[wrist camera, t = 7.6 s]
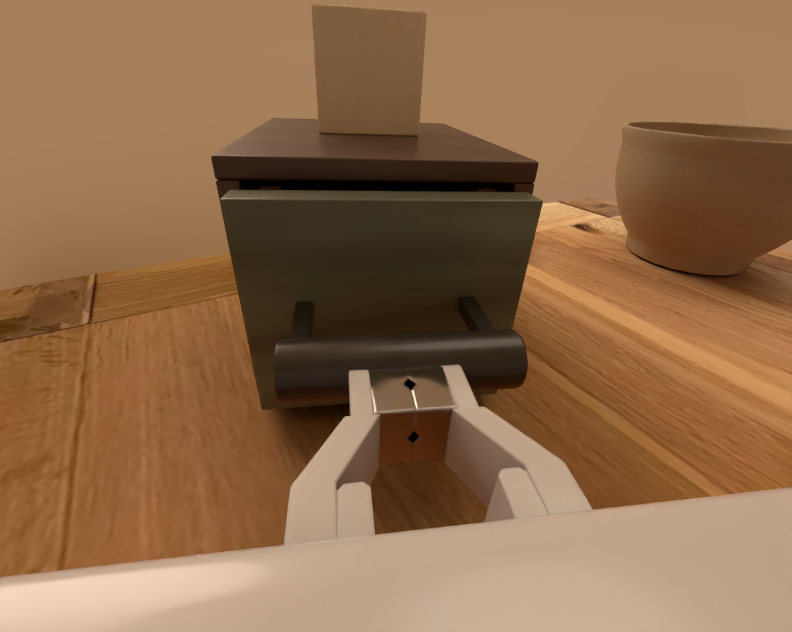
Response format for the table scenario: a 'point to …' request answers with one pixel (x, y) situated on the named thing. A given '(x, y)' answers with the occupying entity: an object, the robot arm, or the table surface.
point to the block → (368, 69)
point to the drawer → (378, 282)
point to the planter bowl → (704, 193)
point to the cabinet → (367, 158)
